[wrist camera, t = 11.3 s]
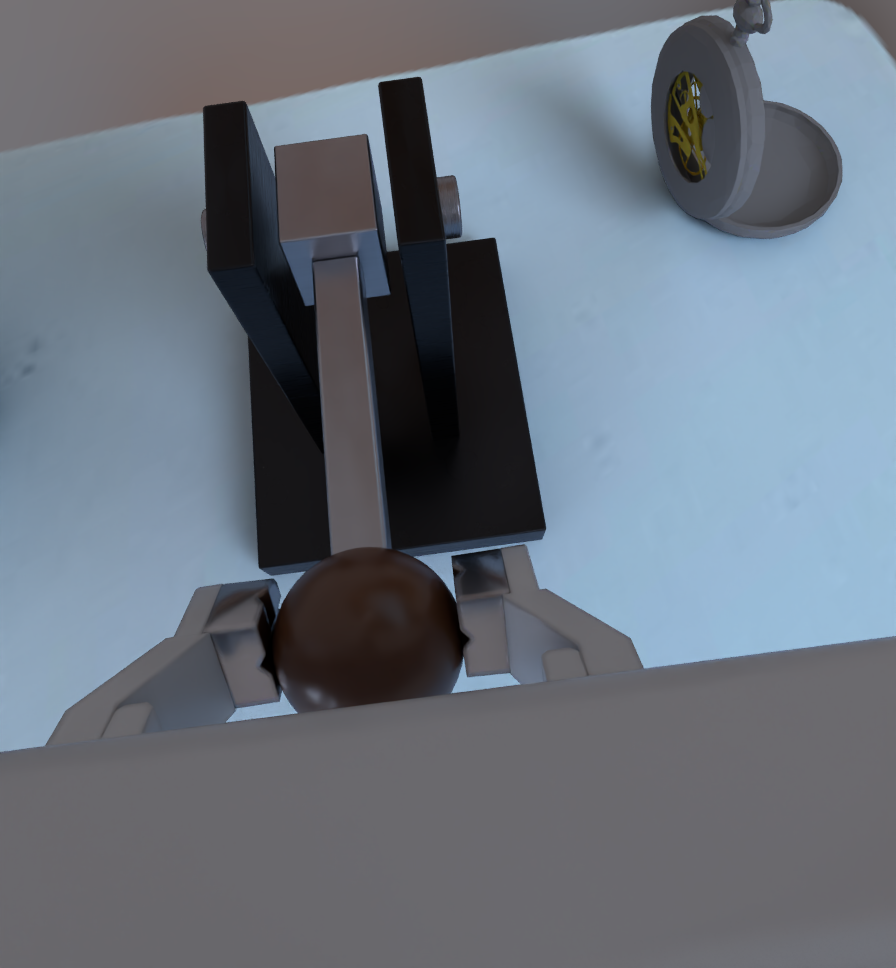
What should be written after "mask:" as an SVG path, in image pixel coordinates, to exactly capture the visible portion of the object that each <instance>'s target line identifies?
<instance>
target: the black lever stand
mask: <svg viewBox="0 0 896 968" xmlns="http://www.w3.org/2000/svg"><path fill="white" fill-rule="evenodd" d="M378 88H379V96H380V104H381V112H382V120H383V128H384V136H385V144H386V152H387V160H388V168H389V176H390V184H391V192H392V200H393V208H394V216H395V224H396V232H397V240H398V247H399V250H398V251H391V252H387V259H388V268H389V276H390V285H391V294H390V295H385V296H378V297H370V298H367V305H368V315H369V325H370V335H371V345H372V355H373V365H374V375H375V385H376V395H377V405H378V415H379V425H380V435H381V446H382V456H383V466H384V476H385V486H386V496H387V506H388V516H389V526H390V536H391V546H392V549H394V550H397V551H400V552H403V553H406V554H408V555H410V556H412V557H414V556H422V555H429V554H437V553H444V552H452V551H459V550H467V549H474V548H481V547H489V546H496V545H504V544H511V543H519V542H526V541H534V540H541V539H542V538H543V536H544V533H545V531H546V524H545V519H544V513H543V507H542V501H541V496H540V490H539V484H538V479H537V473H536V467H535V461H534V456H533V450H532V444H531V439H530V433H529V427H528V421H527V416H526V410H525V404H524V398H523V393H522V387H521V381H520V376H519V370H518V364H517V358H516V353H515V347H514V341H513V336H512V330H511V324H510V318H509V313H508V307H507V301H506V296H505V290H504V284H503V278H502V273H501V267H500V261H499V255H498V250H497V244H496V239H495V238H487V239H480V240H472V241H465V242H458V243H450V244H446V239H452V238H459V237H461V236H462V220H461V209H460V201H459V193H458V187H457V181H456V178H455V176H453V175H451V176H444V177H437V176H436V170H435V163H434V156H433V150H432V143H431V136H430V130H429V123H428V116H427V109H426V103H425V96H424V89H423V83H422V79H421V77H414V78H406V79H399V80H392V81H384V82H380V83H379V85H378ZM203 124H204V160H205V197H206V209H204V210H203V211H202V215H201V228H202V235H203V240H204V244H205V247H206V250H207V269H208V272H209V274H210V275H211V277H212V279H213V280H214V282H215V283H216V285H217V287H218V288H219V290H220V291H221V293H222V295H223V296H224V298H225V299H226V301H227V303H228V304H229V306H230V307H231V309H232V311H233V312H234V314H235V315H236V317H237V319H238V320H239V322H240V323H241V325H242V327H243V328H244V330H245V331H246V333H247V335H248V348H249V370H250V391H251V413H252V434H253V456H254V478H255V499H256V521H257V542H258V564H259V568H260V569H261V570H263V571H264V572H266V573H268V574H269V575H272V576H273V575H280V574H288V573H295V572H303V571H308V570H309V569H310V568H311V567H313V566H314V565H315V564H317V563H318V562H320V561H322V560H323V559H325V558H327V557H329V556H331V547H330V532H329V517H328V502H327V487H326V472H325V457H324V443H323V428H322V413H321V398H320V383H319V368H318V353H317V339H316V324H315V309H314V305H311V306H305V305H304V304H303V301H302V299H301V296H300V294H299V291H298V289H297V286H296V284H295V282H294V279H293V277H292V274H291V272H290V269H289V267H288V264H287V262H286V259H285V257H284V254H283V252H282V250H281V247H280V245H279V241H278V220H277V199H276V178H275V176H274V173H273V171H272V168H271V166H270V163H269V160H268V158H267V155H266V153H265V150H264V147H263V145H262V142H261V140H260V137H259V134H258V132H257V129H256V127H255V124H254V122H253V119H252V116H251V114H250V111H249V109H248V106H247V104H246V102H245V101H238V102H231V103H224V104H217V105H209V106H205V107H204V108H203Z"/></svg>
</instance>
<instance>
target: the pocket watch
mask: <svg viewBox="0 0 896 968" xmlns="http://www.w3.org/2000/svg"><path fill="white" fill-rule="evenodd" d="M760 5H762V8H763V12H764V20H765V21H764V23H763V12H762V9H761V7H760ZM733 17H734V19H735V22H736V27H735V28H734V27H733V26H732V24H731V23H730V22H728V21H726V20H724V19H722V18H720V17H719V16H700V17H698V18H695V19H693V20H691V21H689V22H686V23H685V24H684V25H683V26H681V27H679V28H678V29H677V30H675V31H674V32H673V33H672V34H671V35H670V36H669V37H668V39H667V40H666V42H665V44H664V46H663V48H662V50H661V52H660V54H659V58H658V62H657V66H656V70H655V75H654V79H653V83H652V97H651V120H652V132H653V139H654V144H655V149H656V153H657V158H658V163H659V166H660V169H661V172H662V175H663V177H664V180H665V182H666V184H667V187H668V189H669V191H670V193H671V194H672V196H673V197H674V199H675V201H676V202H677V204H678V205H679V206H680V207H681V208H682V209H683V210H684V211H685V212H686V213H687V214H689V215H691V216H693V217H695V218H697V219H703V220H705V221H706V222H708V223H709V224H711V225H712V226H714V227H716V228H717V229H719V230H722V231H725V232H728V233H731V234H734V235H737V236H740V237H747V238H760V239H772V238H778V237H782V236H786V235H790V234H794V233H796V232H798V231H800V230H802V229H804V228H807V227H808V226H810V225H811V224H812V223H813V222H815V221H816V220H817V219H819V218H820V217H822V216H823V215H824V213H825V212H826V210H827V209H828V208H829V206H830V205H831V203H832V202H833V200H834V199H835V198H836V196H837V193H838V191H839V188H840V185H841V182H842V159H841V156H840V153H839V150H838V148H837V146H836V144H835V142H834V140H833V139H832V137H831V136H830V135H829V134H828V132H827V131H826V130H825V129H824V128H823V127H822V126H821V125H820V124H819V123H818V122H817V121H815V120H814V119H813V118H812V117H810V116H808V115H807V114H805V113H803V112H802V111H800V110H798V109H796V108H793V107H790V106H788V105H785V104H783V103H777V102H770V101H764V100H763V95H762V88H761V82H760V79H759V76H758V74H757V71H756V67H755V64H754V61H753V58H752V56H751V54H750V52H749V49H748V47H747V45H746V42H747V40H748V37H749V34H753V33H755V32H759V33H760V34H766V33H767V32H769V31H770V27H771V24H772V20H773V19H772V12H771V6H770V1H769V0H737V1H736V3H735V5H734V8H733ZM762 23H763V24H762ZM694 79H695V82H694ZM693 84H694V88H695V96H693V94H692V88H691V86H692V85H693ZM696 84H697V86H698V89H699V92H700V94H699V95H700V96H697V93H696ZM694 99H695V101H696V107H695V104H694ZM697 100H699V101H700V107H699V109H698V110H697ZM688 108H690V110H689V112H688ZM700 112H702V113H700Z"/></svg>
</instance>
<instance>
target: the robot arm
mask: <svg viewBox="0 0 896 968" xmlns="http://www.w3.org/2000/svg"><path fill="white" fill-rule="evenodd" d="M451 557H452V567H453V575H454V586H455V594H456V602H457V610H458V618H459V625H460V630H461V631H462V635H461V638H462V646H463V654H464V660H465V667H466V673H467V677H475V676H485V675H494V674H504V673H511V675H512V676H513V677H514V678H515V679H516V680H517V681H518V682H519V683H520V684H521V685H513V686H506V687H498V688H490V689H483V690H475V691H467V692H459V693H452V694H444V695H436V696H429V697H421V698H413V699H405V700H398V701H390V702H382V703H375V704H367V705H359V706H351V707H344V708H336V709H328V710H321V711H313V712H305V713H297V714H290V715H282V716H274V717H266V718H259V719H251V720H243V721H236V722H228V723H225V722H226V721H227V720H228V719H229V718H230V717H231V716H232V714H233V713H234V712H235V711H236V710H235V708H242V707H248V706H254V705H261V704H267V703H273V702H280V697H281V693H282V689H281V686H280V684H279V681H278V679H277V676H276V672H275V668H274V663H273V654H272V640H273V632H274V626H275V622H276V619H277V615H278V613H279V610H280V609H279V608H278V607H279V603H280V599H281V594H280V591H279V588H278V585H277V582H276V581H275V580H274V579H265V580H255V581H246V582H237V583H228V584H224V585H223V584H218V585H211V586H204V587H199V588H197V589H196V590H195V592H194V594H193V596H192V598H191V600H190V602H189V605H188V607H187V609H186V611H185V613H184V615H183V618H182V620H181V622H180V624H179V626H178V628H177V631H176V633H175V635H174V637H171V638H166V639H164V640H163V641H162V642H160V643H159V644H157V645H156V646H155V647H153V648H152V649H151V650H149V651H148V652H146V653H145V654H144V655H142V656H141V657H139V658H138V659H137V660H135V661H134V662H133V663H131V664H130V665H128V666H127V667H126V668H124V669H123V670H121V671H120V672H119V673H117V674H116V675H115V676H113V677H112V678H110V679H109V680H108V681H106V682H105V683H103V684H102V685H101V686H99V687H98V688H97V689H95V690H94V691H92V692H91V693H90V694H88V695H87V696H86V697H84V698H83V699H81V700H80V701H79V702H77V703H76V704H74V705H73V706H72V707H70V708H69V709H68V710H66V711H65V713H64V714H63V716H62V718H61V720H60V721H59V723H58V725H57V726H56V728H55V730H54V732H53V733H52V735H51V737H50V738H49V740H48V742H47V743H46V745H45V746H43V747H35V748H27V749H19V750H12V751H4V752H0V968H896V636H892V637H885V638H877V639H869V640H862V641H854V642H846V643H839V644H831V645H823V646H815V647H808V648H800V649H792V650H784V651H777V652H769V653H761V654H753V655H746V656H738V657H730V658H722V659H715V660H707V661H699V662H691V663H684V664H676V665H668V666H660V667H653V668H645V669H644V668H643V665H642V663H641V661H640V659H639V656H638V654H637V652H636V649H635V647H634V645H633V643H632V640H631V638H629V637H628V636H626V635H624V634H622V633H621V632H619V631H617V630H616V629H614V628H612V627H611V626H609V625H607V624H605V623H604V622H602V621H600V620H599V619H597V618H595V617H593V616H592V615H590V614H588V613H587V612H585V611H583V610H582V609H580V608H578V607H576V606H575V605H573V604H571V603H570V602H568V601H566V600H565V599H563V598H561V597H559V596H558V595H556V594H554V593H553V592H551V591H549V590H547V589H540V590H539V586H538V583H537V580H536V576H535V573H534V569H533V566H532V563H531V559H530V556H529V552H528V549H527V546H526V545H524V544H523V545H517V546H511V547H505V548H500V549H494V550H487V551H481V552H474V553H468V554H461V555H455V556H451Z"/></svg>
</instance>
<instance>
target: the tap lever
mask: <svg viewBox="0 0 896 968" xmlns="http://www.w3.org/2000/svg"><path fill="white" fill-rule="evenodd" d="M274 157H275V178H276V199H277V220H278V241H279V245H280V247H281V250H282V252H283V254H284V257H285V259H286V262H287V264H288V267H289V269H290V272H291V274H292V277H293V279H294V282H295V284H296V286H297V289H298V291H299V294H300V296H301V299H302V301H303V304H304V305H305V306H311V305H314V309H315V324H316V339H317V353H318V368H319V383H320V398H321V413H322V428H323V443H324V457H325V472H326V487H327V502H328V517H329V532H330V547H331V556H329V557H327V558H325V559H323V560H322V561H320V562H318V563H317V564H315V565H314V566H313V567H311V568H310V569H309V570H308V571H306V572H305V573H304V574H303V575H302V576H301V577H300V578H299V579H298V580H297V581H296V583H295V584H294V585H293V587H292V588H291V589H290V591H289V592H288V594H287V596H286V598H285V599H284V601H283V603H282V606H281V608H280V610H279V613H278V615H277V619H276V622H275V626H274V632H273V640H272V654H273V663H274V668H275V672H276V676H277V679H278V681H279V684H280V686H281V689H282V690H283V692H284V694H285V696H286V698H287V700H288V701H289V703H290V704H291V705H292V707H293V708H294V709H295V711H296V712H297V713H305V712H313V711H321V710H328V709H336V708H344V707H351V706H359V705H367V704H375V703H382V702H390V701H398V700H405V699H413V698H421V697H429V696H436V695H444V694H451V692H452V690H453V688H454V686H455V684H456V682H457V679H458V676H459V673H460V670H461V667H462V662H463V657H464V654H463V646H462V638H461V635H462V631H461V630H460V625H459V618H458V610H457V603H456V601H455V599H454V597H453V595H452V593H451V592H450V590H449V589H448V587H447V586H446V584H445V583H444V582H443V580H442V579H441V578H440V577H439V576H438V575H437V574H436V573H435V572H434V571H433V570H432V569H431V568H429V567H428V566H427V565H426V564H424V563H423V562H421V561H419V560H418V559H416V558H414V557H412V556H410V555H408V554H406V553H403V552H400V551H397V550H394V549H392V546H391V536H390V526H389V516H388V506H387V496H386V486H385V476H384V466H383V456H382V446H381V435H380V425H379V415H378V405H377V395H376V385H375V375H374V365H373V355H372V345H371V335H370V325H369V315H368V305H367V298H370V297H378V296H385V295H390V294H391V285H390V276H389V268H388V259H387V250H386V241H385V233H384V224H383V215H382V207H381V202H380V196H379V191H378V186H377V181H376V175H375V170H374V165H373V160H372V154H371V149H370V144H369V139H368V136H367V134H362V135H355V136H347V137H340V138H332V139H325V140H318V141H310V142H303V143H296V144H288V145H281V146H275V147H274Z"/></svg>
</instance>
